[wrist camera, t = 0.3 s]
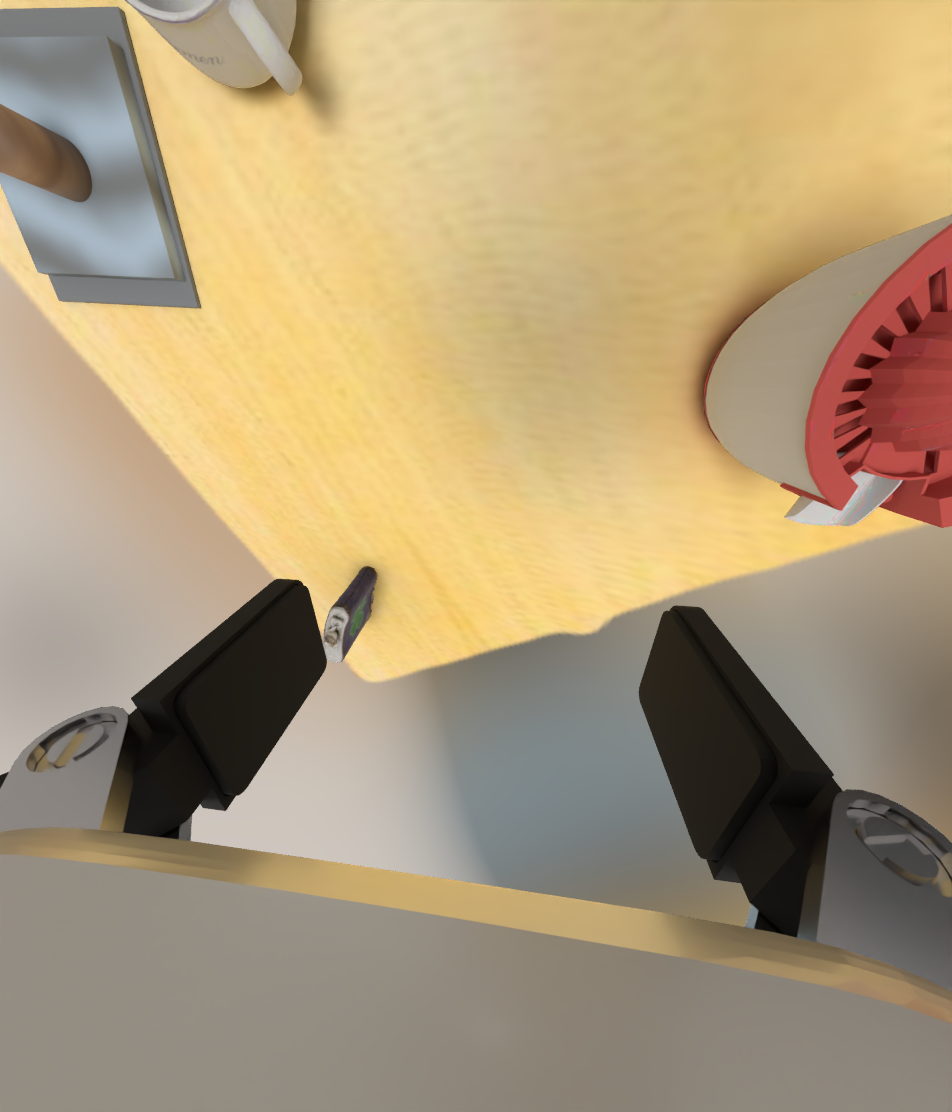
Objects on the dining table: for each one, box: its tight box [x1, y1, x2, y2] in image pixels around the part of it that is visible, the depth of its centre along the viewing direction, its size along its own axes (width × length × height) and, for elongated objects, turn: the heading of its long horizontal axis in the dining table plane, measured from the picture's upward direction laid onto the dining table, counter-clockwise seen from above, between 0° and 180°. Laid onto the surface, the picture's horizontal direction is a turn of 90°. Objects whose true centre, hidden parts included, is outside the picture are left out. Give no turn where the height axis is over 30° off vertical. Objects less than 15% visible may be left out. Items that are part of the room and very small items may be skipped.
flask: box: [322, 567, 378, 663], centre depth 43 cm, size 9×3×11 cm, turn 163°
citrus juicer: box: [703, 215, 952, 528], centre depth 23 cm, size 16×17×20 cm
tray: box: [0, 7, 201, 308], centre depth 30 cm, size 18×15×1 cm
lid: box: [0, 36, 186, 282], centre depth 27 cm, size 14×14×6 cm
